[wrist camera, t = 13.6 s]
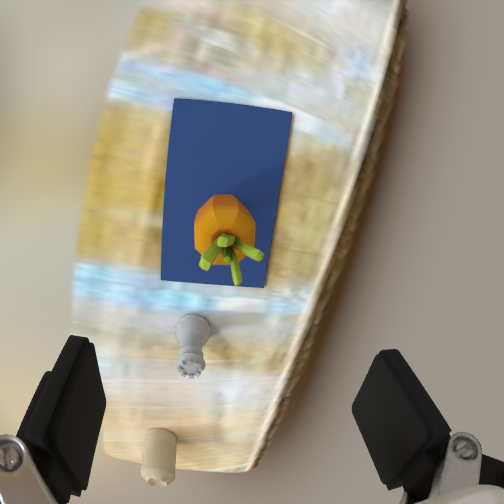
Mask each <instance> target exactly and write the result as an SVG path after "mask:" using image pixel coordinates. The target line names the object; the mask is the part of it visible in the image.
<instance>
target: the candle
mask: <svg viewBox="0 0 504 504" xmlns="http://www.w3.org/2000/svg"><path fill="white" fill-rule="evenodd" d="M175 464H176V436H175V435H174V434H173V433H172V432H170V431H168V430H165V429H160V428H155V429H150V430H148V431H147V432H146V435H145V442H144V450H143V458H142V468H141V475H142V477H143V478H144V479H145V480H146V481H147V482H148V483H149V484H150V485H153V486H157V487H160V486H167V485H168V484H170V483H171V482H172V481H174V479H175Z"/></svg>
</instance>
